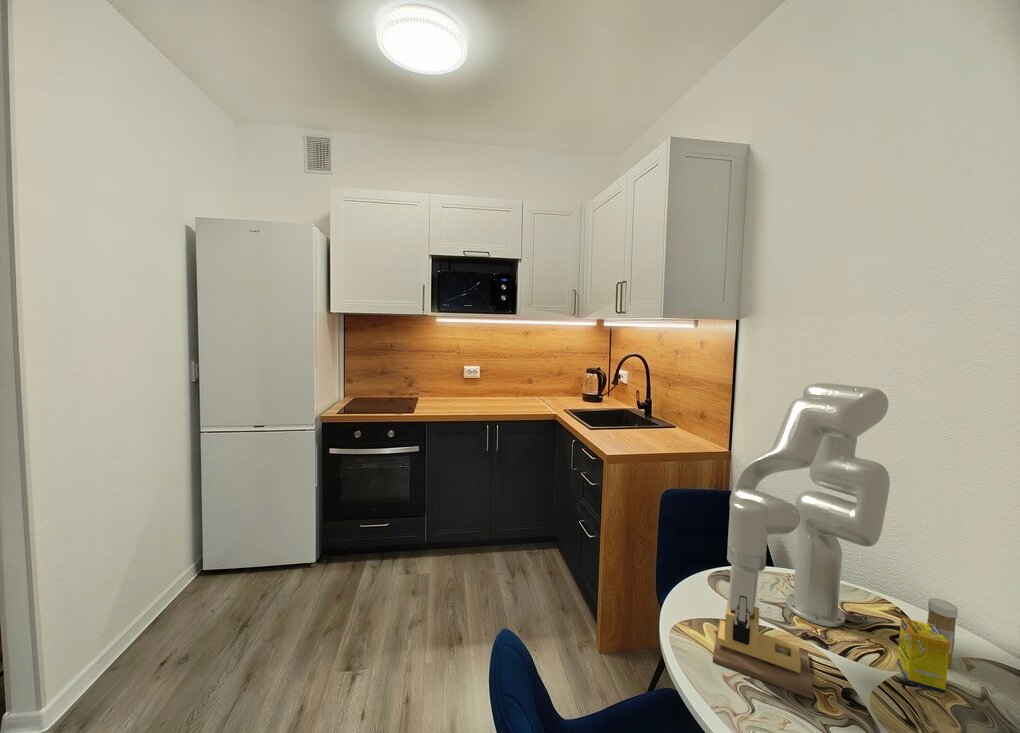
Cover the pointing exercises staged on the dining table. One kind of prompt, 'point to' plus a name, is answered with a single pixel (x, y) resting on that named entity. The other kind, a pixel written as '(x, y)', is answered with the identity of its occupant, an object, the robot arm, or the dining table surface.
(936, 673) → the supplement box
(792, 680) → the base
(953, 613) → the sprinkles bottle
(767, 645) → the tan stepped holder block
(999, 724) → the dining table surface
